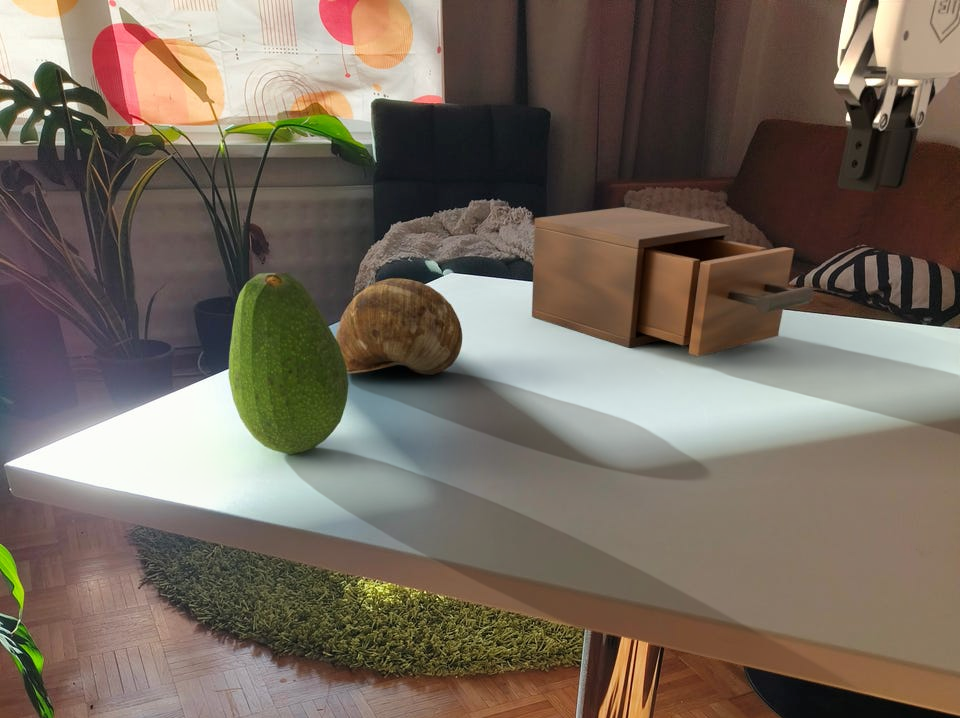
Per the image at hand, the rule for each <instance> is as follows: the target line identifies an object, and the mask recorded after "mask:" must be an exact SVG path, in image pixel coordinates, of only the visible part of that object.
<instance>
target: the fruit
mask: <svg viewBox="0 0 960 718" xmlns="http://www.w3.org/2000/svg"><path fill="white" fill-rule="evenodd" d="M233 315H234V316H233V322H232V329H231V330H232V331H231V338H230V345H229V352H228V353H229V354H228V355H229V356H228V381H229V386H230V390H231V396H232V400H233V403H234V405H235V408H236V411H237V412H238V417H239V419H240V420H241V421H242V423H243V425H244V426H245V428H246V429H247V430H248V432H249V433H250V434H251V435H252V437H253V438H254V439H255V440H256V441H257V442H259V443H260V444H261V445H262V446H264V447H265V448H268V449H270V450H272V451H275V452H279V453H282V454H287V455H292V454H297V453H302V452H307V451H309V450H311V449H314V448H316V447H317V446H319V445H320V444H322V443H324V442H325V441H326V440H327V439H328V438H329V437H330V436H331V434H332V433H333V432H334V431H335V429H336V428H337V427H338V426H339V424H340V423H341V421H342V418H343V415H344V412H345V409H346V406H347V401H348V395H349V394H348V393H349V377H348V373H347V368H346V363H345V360H344V357H343V355H342V352H341V349H340V346H339V344H338V342H337V340H336V336H335V335H334V333H333V332H332V330H331V328H330V327H329V325H328V323H327V321H326V319H325V318H324V316H323V314H322V313H321V311H320V309H319V308H318V306H317V305H316V303H315V300H314V299H313V298H312V296H311V295H310V293H309V291H308V290H307V288H305V286H304V285H303V284H302V283H301V281H299V280H297V279H296V278H295V277H293V276H292V275H290V274H289V273H285V272H283V273H282V272H264V273H262V272H261V273H257V274H256V275H255V276H253V277H252V278H250V279H249V280H248V281H247V282H246V283H245V284H244V286H243V287H242V289H241V290H240V292H239V294H238V297H237V301H236V303H235V308H234V314H233Z"/></svg>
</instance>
